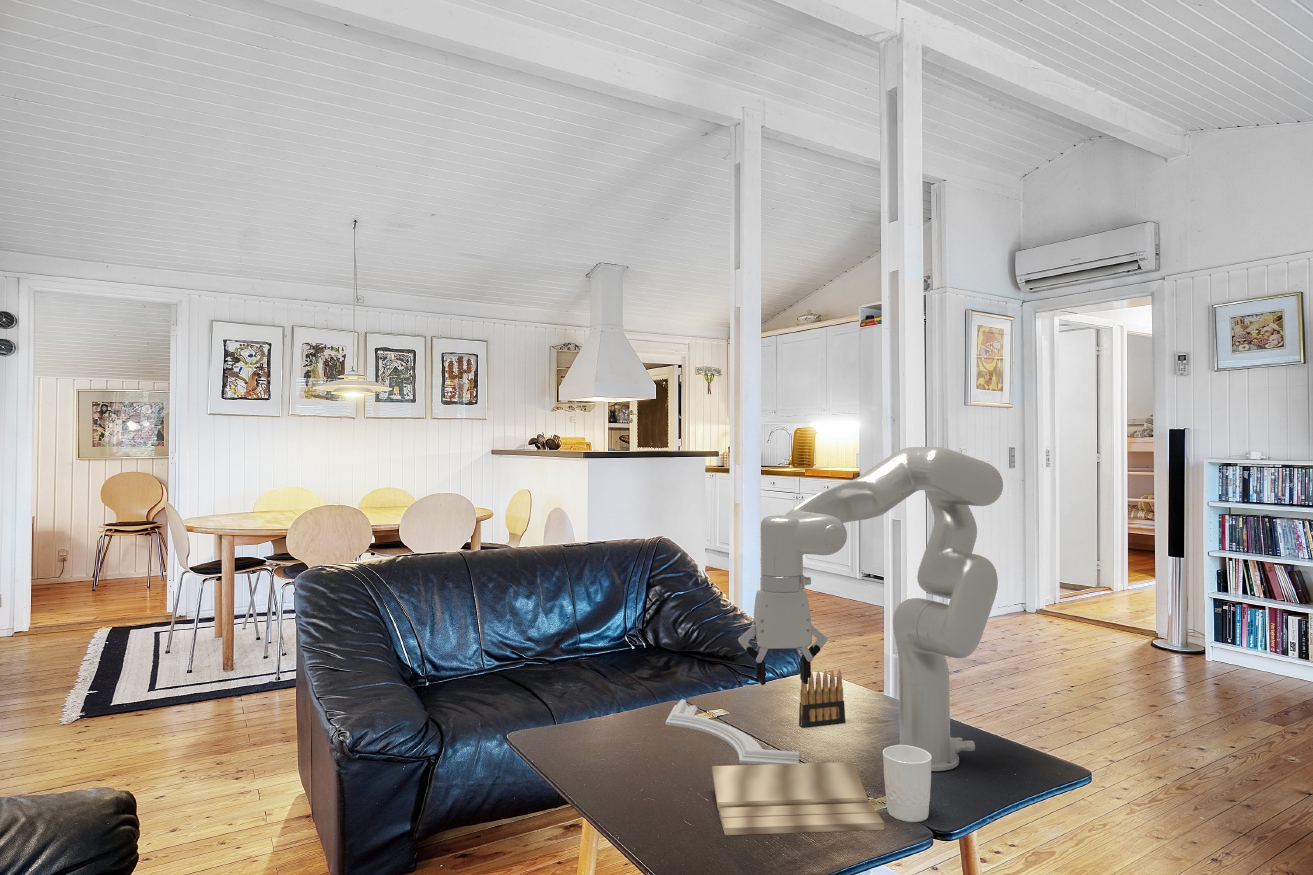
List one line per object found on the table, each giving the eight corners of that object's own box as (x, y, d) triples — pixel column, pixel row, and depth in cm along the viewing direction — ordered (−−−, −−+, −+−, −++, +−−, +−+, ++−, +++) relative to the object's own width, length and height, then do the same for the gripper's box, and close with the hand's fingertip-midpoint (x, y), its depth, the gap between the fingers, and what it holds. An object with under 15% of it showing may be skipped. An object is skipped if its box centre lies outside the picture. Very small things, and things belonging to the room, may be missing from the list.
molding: (813, 766, 152) (813, 751, 152) (766, 780, 145) (766, 765, 145) (687, 707, 187) (687, 695, 187) (645, 716, 180) (645, 704, 181)
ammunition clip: (841, 720, 176) (840, 667, 176) (845, 723, 174) (844, 669, 174) (798, 725, 173) (798, 671, 173) (802, 728, 171) (801, 673, 171)
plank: (852, 766, 141) (853, 761, 141) (867, 806, 133) (868, 800, 132) (711, 771, 140) (712, 765, 139) (718, 811, 131) (718, 805, 131)
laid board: (870, 809, 132) (869, 802, 132) (884, 829, 125) (884, 821, 125) (719, 814, 130) (718, 807, 130) (724, 835, 123) (724, 827, 123)
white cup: (878, 802, 134) (877, 744, 135) (923, 802, 134) (923, 744, 134) (890, 824, 127) (889, 762, 127) (939, 824, 126) (938, 763, 127)
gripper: (823, 579, 144) (824, 675, 144) (731, 581, 143) (732, 677, 143) (835, 586, 136) (836, 687, 136) (737, 588, 135) (738, 690, 135)
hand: (783, 681), depth 139 cm, fingers open, 7 cm apart
